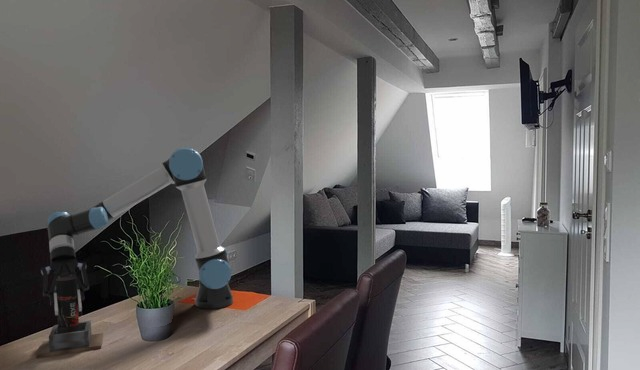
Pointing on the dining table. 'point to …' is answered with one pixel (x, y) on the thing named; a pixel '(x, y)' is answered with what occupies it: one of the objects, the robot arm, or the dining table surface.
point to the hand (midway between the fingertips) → (68, 311)
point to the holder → (70, 340)
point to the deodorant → (67, 301)
